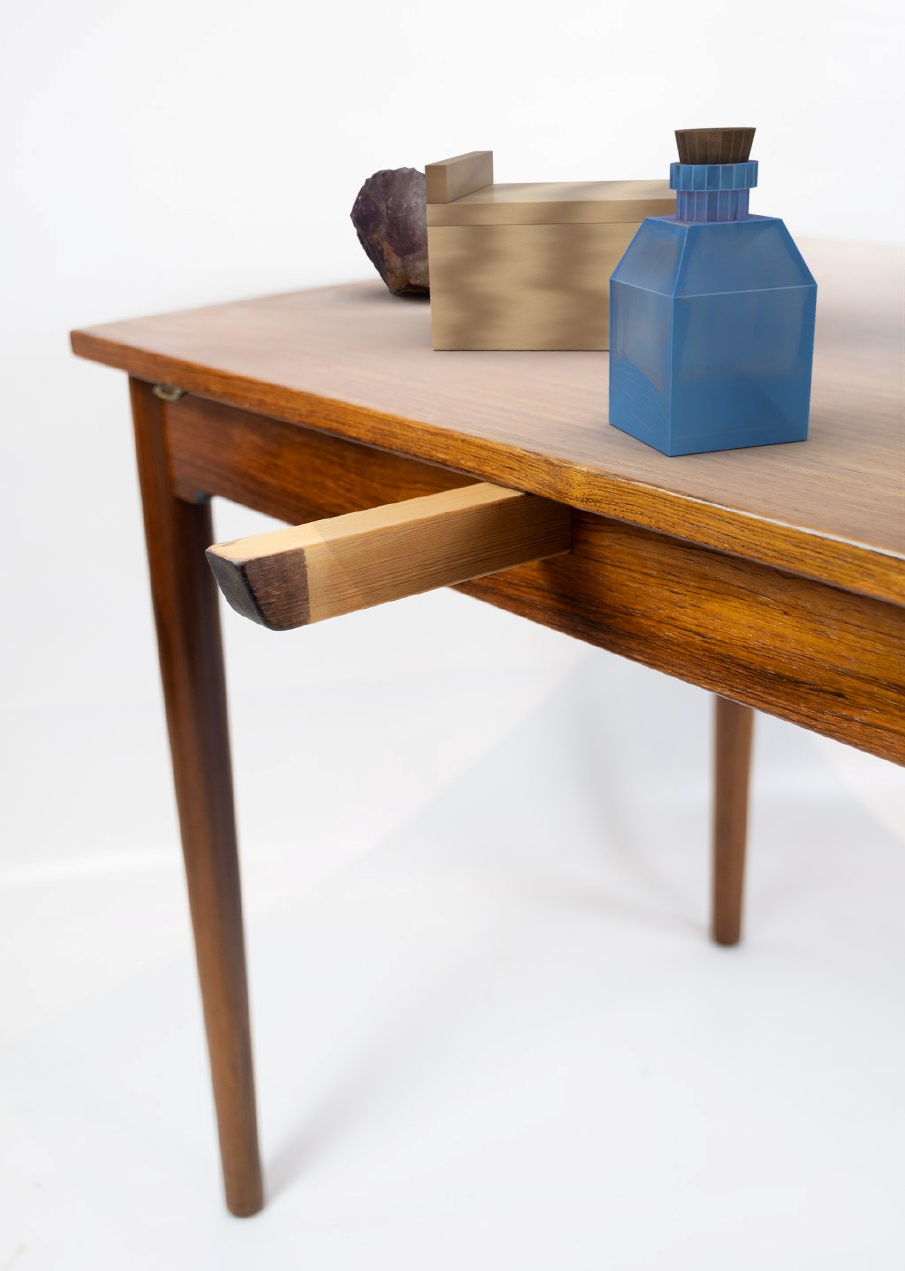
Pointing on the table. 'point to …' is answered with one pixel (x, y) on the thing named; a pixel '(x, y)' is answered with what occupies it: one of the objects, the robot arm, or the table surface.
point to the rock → (395, 227)
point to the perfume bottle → (712, 312)
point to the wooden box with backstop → (527, 255)
